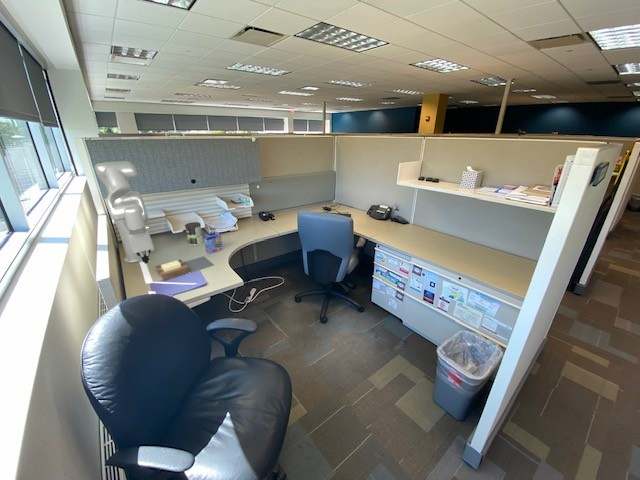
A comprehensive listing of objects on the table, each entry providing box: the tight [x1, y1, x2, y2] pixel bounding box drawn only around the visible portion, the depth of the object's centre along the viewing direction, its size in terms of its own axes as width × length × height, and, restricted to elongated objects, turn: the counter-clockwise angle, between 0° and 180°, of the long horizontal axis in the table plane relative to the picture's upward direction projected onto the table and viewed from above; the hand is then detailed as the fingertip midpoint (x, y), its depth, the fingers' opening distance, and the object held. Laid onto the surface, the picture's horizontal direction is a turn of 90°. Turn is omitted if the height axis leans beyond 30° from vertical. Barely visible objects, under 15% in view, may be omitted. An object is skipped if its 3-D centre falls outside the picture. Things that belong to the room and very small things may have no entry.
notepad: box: [160, 260, 181, 272], centre depth 160 cm, size 6×9×2 cm, turn 133°
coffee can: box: [184, 221, 204, 246], centre depth 199 cm, size 10×10×14 cm
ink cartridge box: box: [203, 231, 223, 255], centre depth 186 cm, size 10×6×14 cm, turn 137°
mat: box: [183, 255, 215, 273], centre depth 170 cm, size 16×14×1 cm
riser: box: [155, 259, 190, 282], centre depth 161 cm, size 15×14×3 cm
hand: (146, 262), depth 149 cm, fingers closed
